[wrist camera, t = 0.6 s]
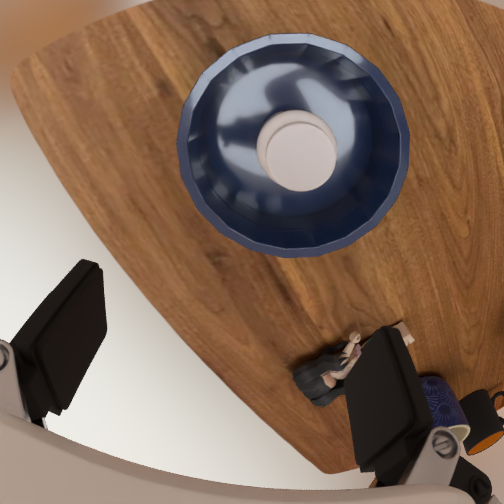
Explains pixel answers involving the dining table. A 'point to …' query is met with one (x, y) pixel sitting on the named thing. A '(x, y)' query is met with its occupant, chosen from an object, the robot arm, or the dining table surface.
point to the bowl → (247, 131)
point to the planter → (445, 406)
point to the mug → (481, 421)
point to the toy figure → (333, 369)
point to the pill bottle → (296, 149)
